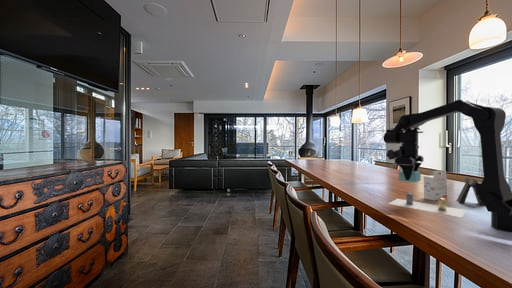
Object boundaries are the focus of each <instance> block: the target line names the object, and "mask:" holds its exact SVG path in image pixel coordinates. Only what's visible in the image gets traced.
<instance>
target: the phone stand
mask: <svg viewBox="0 0 512 288" xmlns="http://www.w3.org/2000/svg"><path fill="white" fill-rule="evenodd" d="M471 180H472V182H469V181H471ZM476 183H478V181H477V180H476V179H475V178H473V177H469V176H466V177H465V178H464V185H463V187H462V189H461V191H460V193H459V195H458V197H457V199H456V202H457V203H458V204H466V203H467V204H469V202H467V201H466V199H467V198H468V194H469V192H470V189H471V188H472V190H473V193H474V196H475V199H476V202H477V203H475V202H471V204H472V205H479V206H481V207H483V206H484V207H486V206H485V204H484V203H483V202H482V201H480V199H479V195H476V193H477V188H476Z"/></svg>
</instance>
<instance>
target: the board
mask: <svg viewBox="0 0 512 288" xmlns="http://www.w3.org/2000/svg"><path fill="white" fill-rule="evenodd" d="M405 197H406V198H405V199H401V198H396V199H394V200H392V201H391V202H388V205H393V206H398V207H403V208H409V209H415V210H420V211H425V212H430V213H436V214H440V215H441V214H442V215H446V216H452V217H457V218H463V217H464V216H465V214H466V212H467V209H462V208H455V207H449V206H447V211H442V210H438V204H431V203H425V202H420V201H419V202H418V201H414V194H413V193H410V192H407V193H405Z"/></svg>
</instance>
